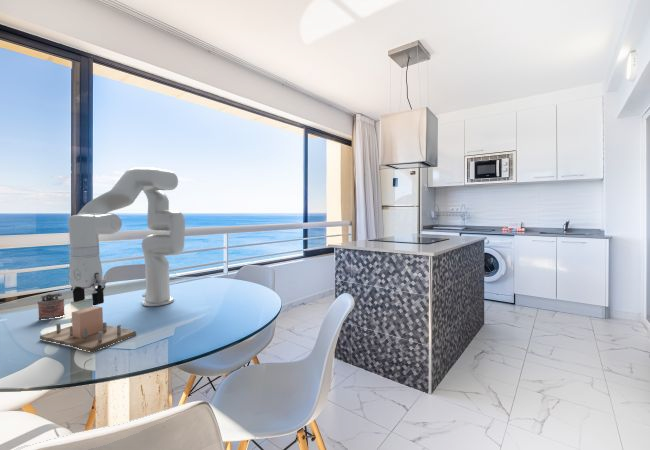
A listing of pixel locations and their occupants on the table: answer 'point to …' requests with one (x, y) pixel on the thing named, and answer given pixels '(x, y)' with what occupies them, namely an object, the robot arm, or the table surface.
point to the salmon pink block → (87, 321)
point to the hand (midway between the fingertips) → (88, 302)
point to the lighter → (51, 306)
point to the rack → (89, 337)
